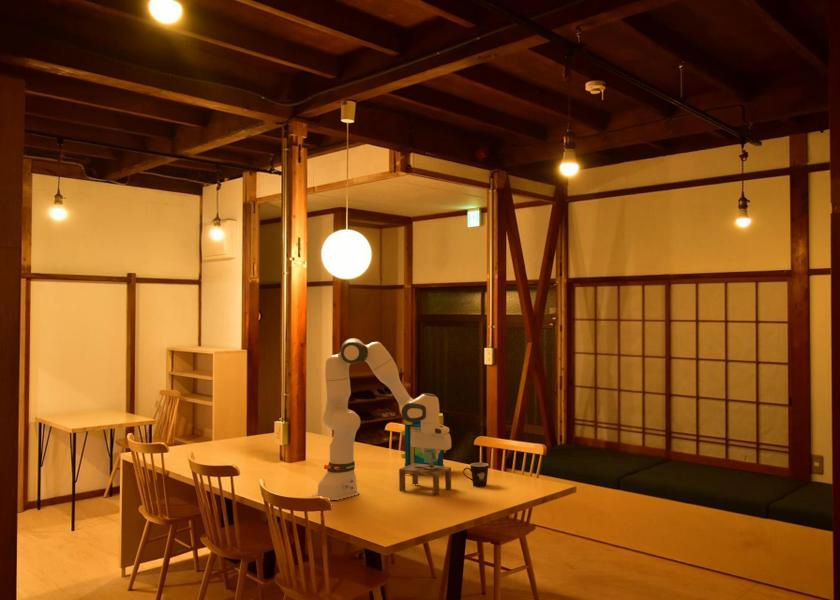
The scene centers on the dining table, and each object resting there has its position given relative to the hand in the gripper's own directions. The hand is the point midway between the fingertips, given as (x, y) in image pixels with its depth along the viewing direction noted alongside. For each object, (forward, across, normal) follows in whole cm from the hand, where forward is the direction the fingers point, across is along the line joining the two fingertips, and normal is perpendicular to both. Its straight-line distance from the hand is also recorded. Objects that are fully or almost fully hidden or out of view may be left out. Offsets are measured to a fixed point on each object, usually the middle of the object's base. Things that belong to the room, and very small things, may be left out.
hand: (430, 458), depth 317 cm
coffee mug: (+15, +15, +18) cm, 28 cm away
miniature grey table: (+15, -3, 0) cm, 15 cm away
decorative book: (+15, -21, +30) cm, 40 cm away
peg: (+6, 0, 0) cm, 6 cm away
